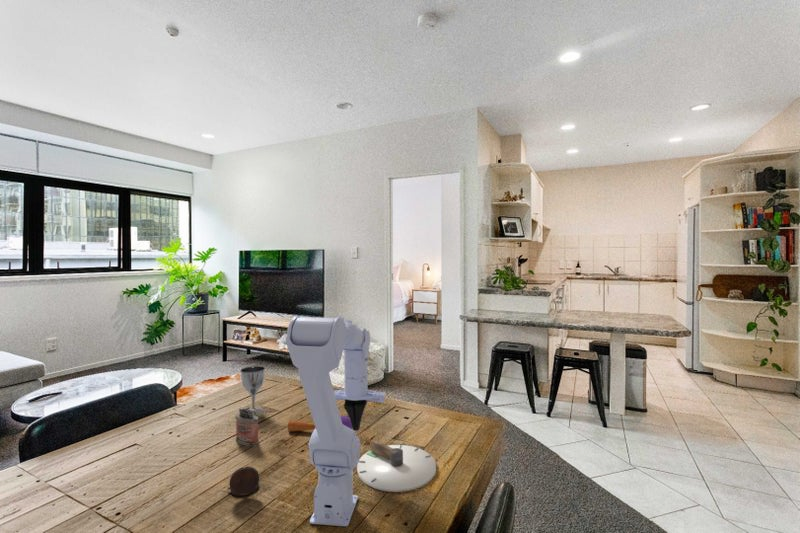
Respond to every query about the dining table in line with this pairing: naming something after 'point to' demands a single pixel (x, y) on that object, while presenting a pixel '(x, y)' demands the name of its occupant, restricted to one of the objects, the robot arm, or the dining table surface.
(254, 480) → the compass
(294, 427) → the kendama
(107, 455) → the dining table surface
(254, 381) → the wine glass
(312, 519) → the robot arm
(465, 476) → the dining table surface
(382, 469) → the gauge dial
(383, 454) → the tuning pointer
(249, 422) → the lighter
